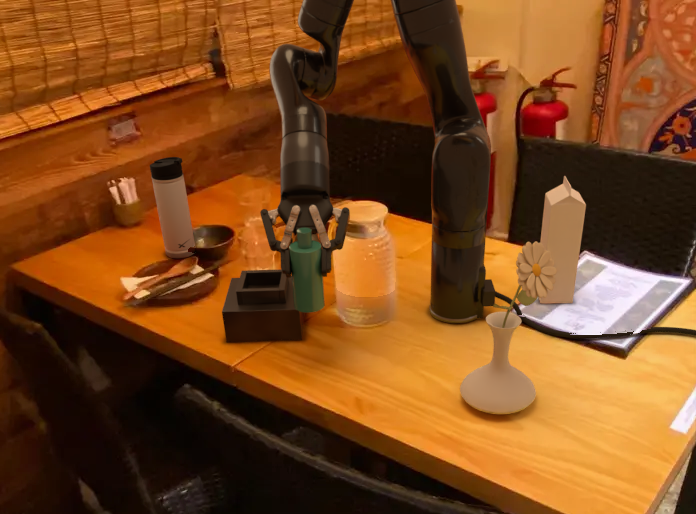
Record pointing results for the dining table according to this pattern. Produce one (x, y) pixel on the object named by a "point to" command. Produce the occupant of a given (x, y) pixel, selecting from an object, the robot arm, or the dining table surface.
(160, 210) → the travel mug
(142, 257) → the dining table surface
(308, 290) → the sauce bottle
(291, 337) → the condiment stand
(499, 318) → the flower in vase
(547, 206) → the milk
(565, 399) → the dining table surface
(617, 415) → the dining table surface
